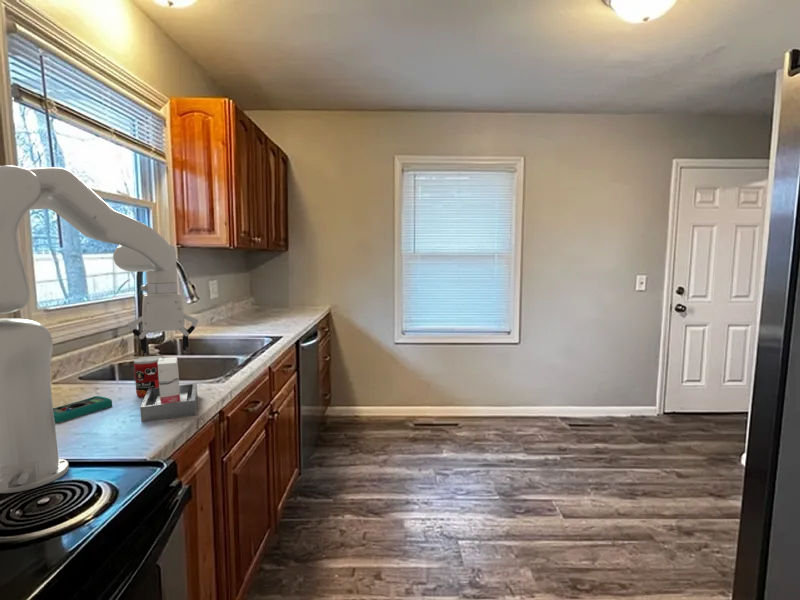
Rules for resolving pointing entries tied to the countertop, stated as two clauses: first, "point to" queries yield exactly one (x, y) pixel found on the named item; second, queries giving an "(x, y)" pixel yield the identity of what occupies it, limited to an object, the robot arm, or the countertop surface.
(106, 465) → the countertop surface
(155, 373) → the canned food
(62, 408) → the digital multimeter
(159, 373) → the ink box
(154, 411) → the grey rimmed tray
